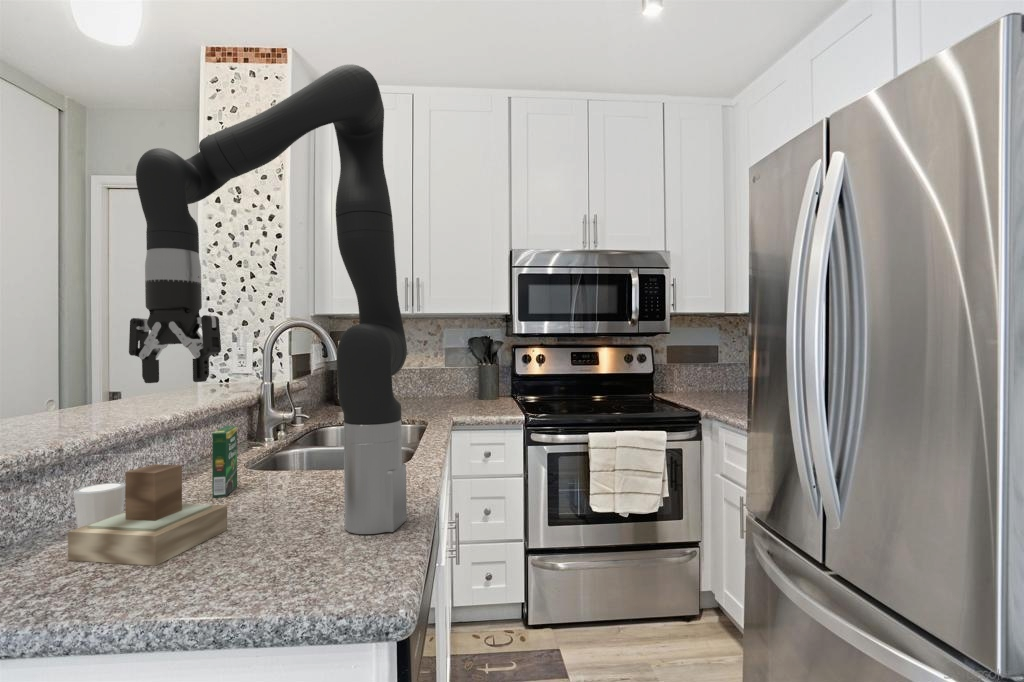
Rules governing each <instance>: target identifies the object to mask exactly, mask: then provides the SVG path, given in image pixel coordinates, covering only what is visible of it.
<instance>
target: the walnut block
mask: <svg viewBox="0 0 1024 682" xmlns="http://www.w3.org/2000/svg"><path fill="white" fill-rule="evenodd" d="M124 474H125V475H124V478H125V500H124V508H125V511H124V512H125V520H146V521H156V520H159V519H161V518H164V517H166V516H169V515H171V514H174V513H176V512H179V511H181V510H182V503H183V465H182V464H155V463H154V464H150V465H147V466H142V467H138V468H136V469H131V470H128V471H125V472H124Z"/></svg>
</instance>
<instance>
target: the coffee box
mask: <svg viewBox="0 0 1024 682" xmlns="http://www.w3.org/2000/svg"><path fill="white" fill-rule="evenodd" d="M211 439H212V441H211V442H212V446H211V448H212V452H211V453H212V455H211V457H212V459H211V460H212V461H211V462H212V464H211V466H212V467H211V468H212V469H211V472H212V473H211V474H212V475H211V478H212V479H211V481H212V482H211V484H212V488H211V489H212V498H225V497H228V495H230V494H231V493H232V492H233V491H234V490H235V489H236V488H238V426H237V425H227V426H226V425H224V426H223V427H221V428H219V429H218V430H216V431H214V432H212V438H211Z"/></svg>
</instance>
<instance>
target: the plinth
mask: <svg viewBox="0 0 1024 682" xmlns="http://www.w3.org/2000/svg"><path fill="white" fill-rule="evenodd" d="M226 531H228V505H227V504H209V503H207V504H206V503H205V504H204V503H184V502H182V510H181V511H179V512H176V513H174V514H171V515H169V516H166V517H164V518H161V519H159V520H156V521H146V520H125V511H123V512H122V513H120V514H117V515H114V516H111V517H108V518H105V519H103V520H100V521H97V522H94V523H91V524H88V525H86V526H83V527H80V528H78V527H77V528H75V529H71V530H69V531H67V561H74V562H75V561H76V562H89V563H90V562H91V563H106V564H108V563H109V564H118V565H119V564H121V565H122V564H123V565H138V566H152V567H153V566H154V567H155V566H158V565H160V564H162V563H164V562H166V561H168V560H170V559H172V558H174V557H175V556H176V557H177V556H178V555H180V554H182V553H184V552H186V551H188V550H190V549H192V548H194V547H196V546H198V545H200V544H202V543H205V542H206V541H208V540H210V539H212V538H214V537H216V536H218V535H220V534H222V533H224V532H226Z"/></svg>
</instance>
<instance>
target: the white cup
mask: <svg viewBox="0 0 1024 682" xmlns="http://www.w3.org/2000/svg"><path fill="white" fill-rule="evenodd" d="M73 502H74V507H75V508H74V509H75V510H74V511H75V518H76V526H77V528H80V527H83V526H86V525H88V524H91V523H94V522H97V521H100V520H103V519H105V518H108V517H111V516H114V515H117V514H120V513H122V512H124V508H125V483H124V482H105V483H104V482H103V483H97V484H91V485H87V486H84V487H83V486H82V487H80V488H77V489H75V490H74V491H73Z"/></svg>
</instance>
